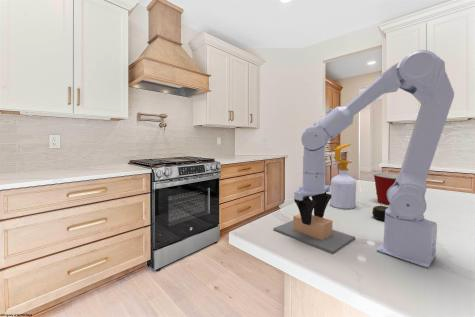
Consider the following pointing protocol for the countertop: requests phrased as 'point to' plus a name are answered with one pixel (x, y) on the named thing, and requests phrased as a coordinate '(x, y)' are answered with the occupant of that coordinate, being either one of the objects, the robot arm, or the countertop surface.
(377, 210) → the tape measure
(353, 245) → the countertop surface
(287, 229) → the mat
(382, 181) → the plastic cup
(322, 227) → the card case
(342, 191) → the soap bottle
